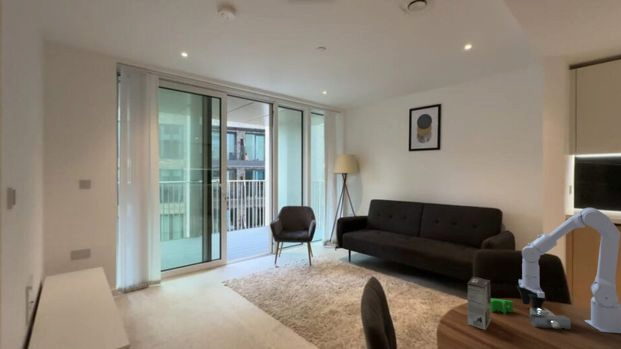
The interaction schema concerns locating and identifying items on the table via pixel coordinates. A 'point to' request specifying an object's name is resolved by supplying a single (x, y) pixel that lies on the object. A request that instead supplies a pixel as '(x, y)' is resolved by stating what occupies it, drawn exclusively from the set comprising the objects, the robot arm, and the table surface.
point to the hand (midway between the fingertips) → (531, 307)
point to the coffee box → (479, 302)
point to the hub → (540, 311)
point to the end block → (550, 321)
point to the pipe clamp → (501, 305)
